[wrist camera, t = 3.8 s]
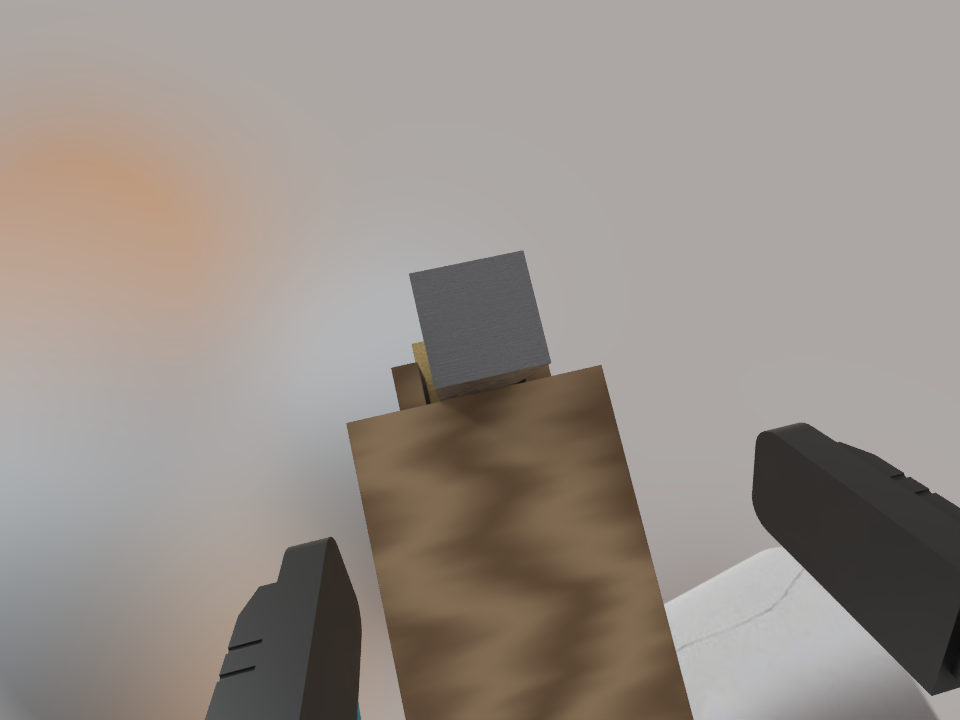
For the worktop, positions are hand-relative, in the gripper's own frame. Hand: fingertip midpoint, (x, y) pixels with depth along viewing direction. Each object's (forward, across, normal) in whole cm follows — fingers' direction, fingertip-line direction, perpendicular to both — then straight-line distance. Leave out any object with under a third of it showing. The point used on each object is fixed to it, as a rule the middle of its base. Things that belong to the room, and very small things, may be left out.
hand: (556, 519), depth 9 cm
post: (+4, 0, +34) cm, 34 cm away
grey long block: (+15, 0, +5) cm, 16 cm away
